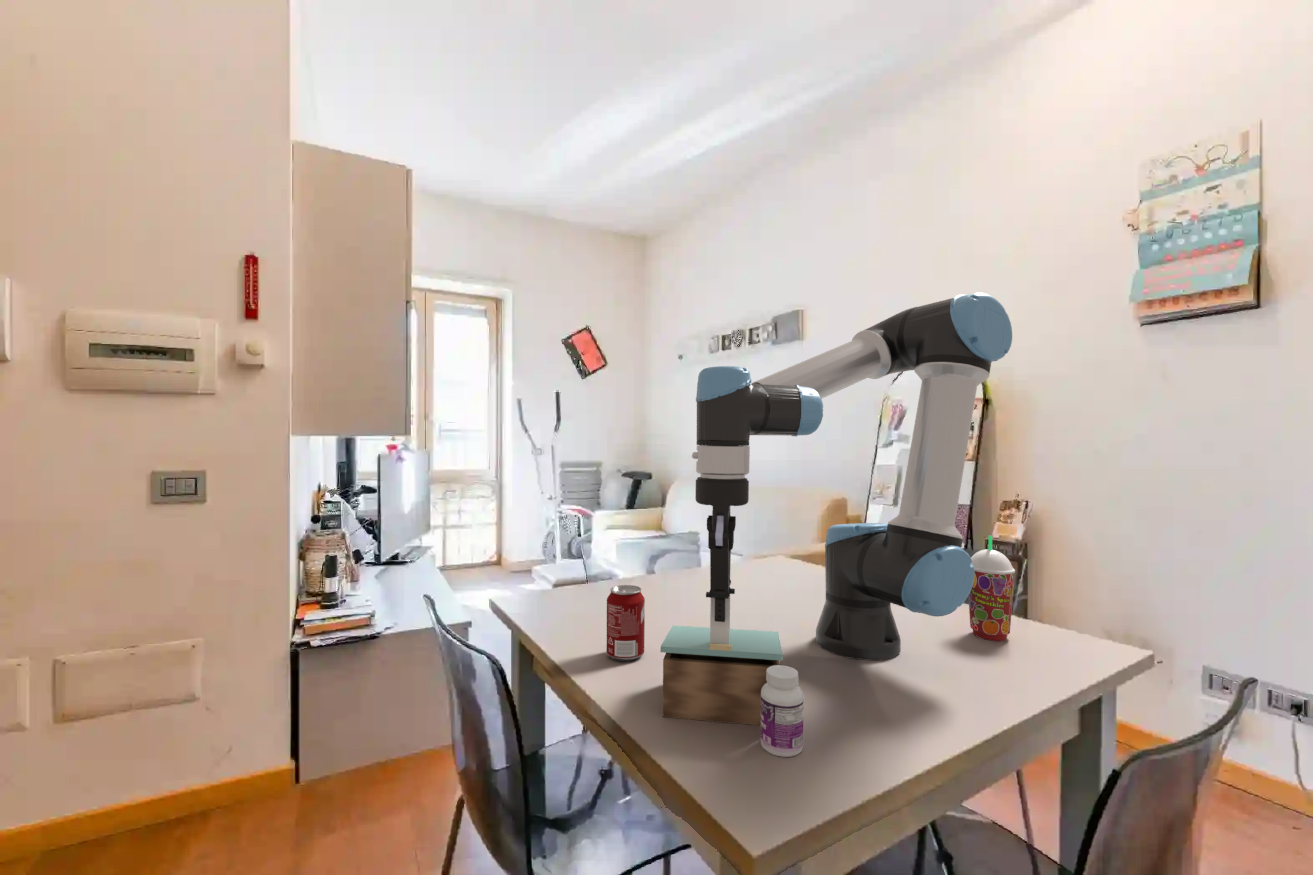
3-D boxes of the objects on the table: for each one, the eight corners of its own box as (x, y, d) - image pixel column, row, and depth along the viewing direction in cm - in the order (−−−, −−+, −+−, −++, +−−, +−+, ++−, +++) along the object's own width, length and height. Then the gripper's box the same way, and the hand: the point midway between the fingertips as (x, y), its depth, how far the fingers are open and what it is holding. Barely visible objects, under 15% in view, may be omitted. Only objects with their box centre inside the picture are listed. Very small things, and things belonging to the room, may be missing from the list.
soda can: (639, 664, 99) (639, 595, 99) (601, 661, 100) (602, 592, 100) (647, 650, 105) (648, 585, 105) (612, 647, 107) (612, 583, 107)
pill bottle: (755, 736, 75) (755, 662, 75) (795, 734, 76) (795, 661, 76) (766, 759, 70) (767, 680, 70) (809, 757, 70) (809, 679, 70)
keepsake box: (775, 688, 90) (776, 637, 90) (779, 726, 78) (780, 667, 78) (674, 681, 92) (674, 631, 92) (662, 716, 80) (663, 659, 80)
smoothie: (968, 640, 112) (969, 537, 112) (963, 627, 120) (964, 531, 120) (1018, 646, 109) (1019, 540, 109) (1010, 632, 116) (1010, 533, 116)
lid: (778, 636, 89) (778, 627, 90) (782, 660, 77) (782, 649, 77) (672, 630, 92) (672, 621, 92) (660, 652, 80) (660, 641, 80)
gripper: (700, 472, 89) (697, 625, 89) (691, 478, 76) (688, 656, 76) (749, 473, 87) (747, 628, 88) (748, 480, 75) (745, 661, 75)
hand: (719, 641), depth 82 cm, fingers closed
